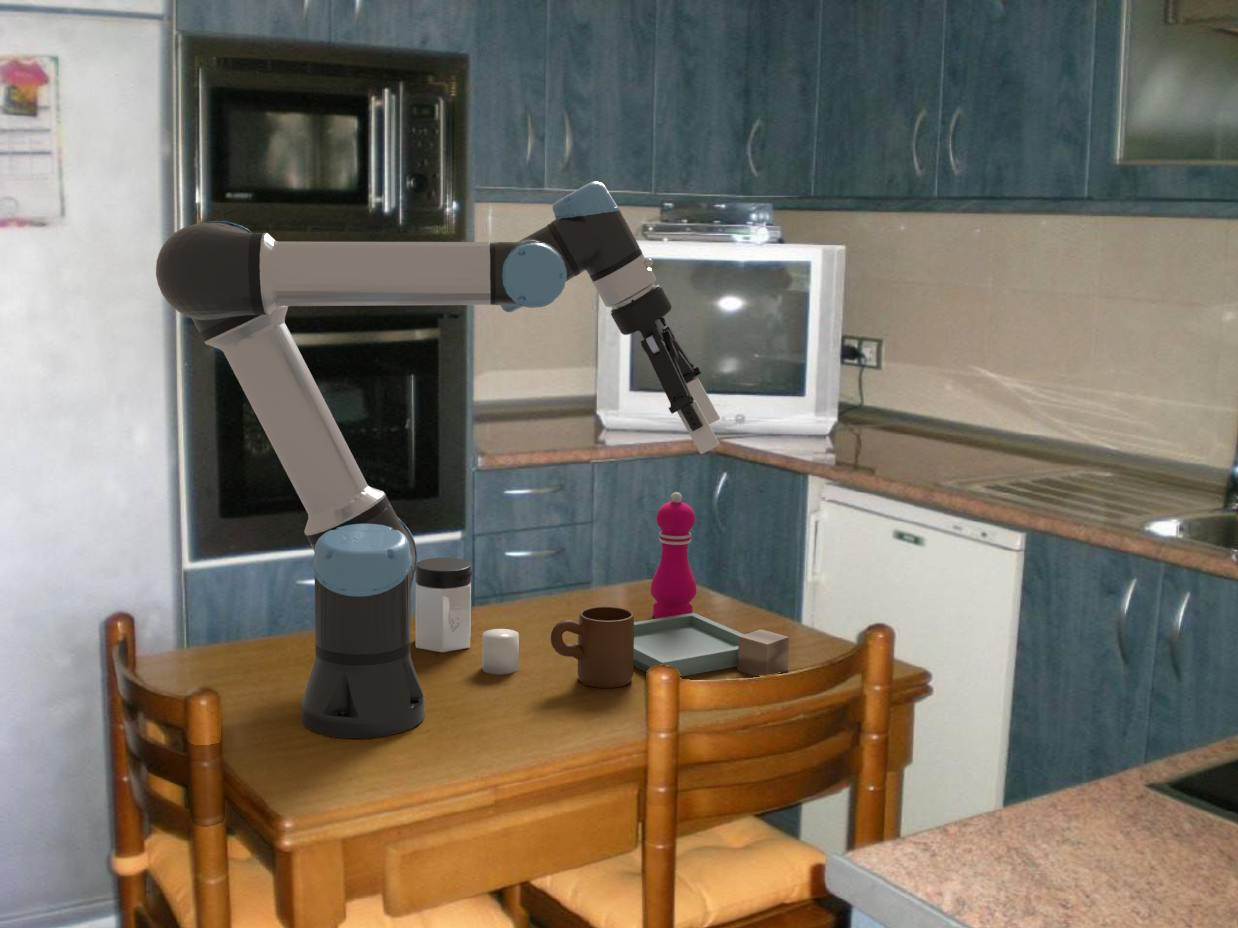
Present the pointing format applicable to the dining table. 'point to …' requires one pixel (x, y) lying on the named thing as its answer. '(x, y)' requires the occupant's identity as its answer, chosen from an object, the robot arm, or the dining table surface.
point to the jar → (443, 604)
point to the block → (763, 653)
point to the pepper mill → (674, 560)
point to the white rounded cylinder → (500, 651)
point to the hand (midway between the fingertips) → (710, 435)
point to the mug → (600, 645)
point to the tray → (685, 644)
